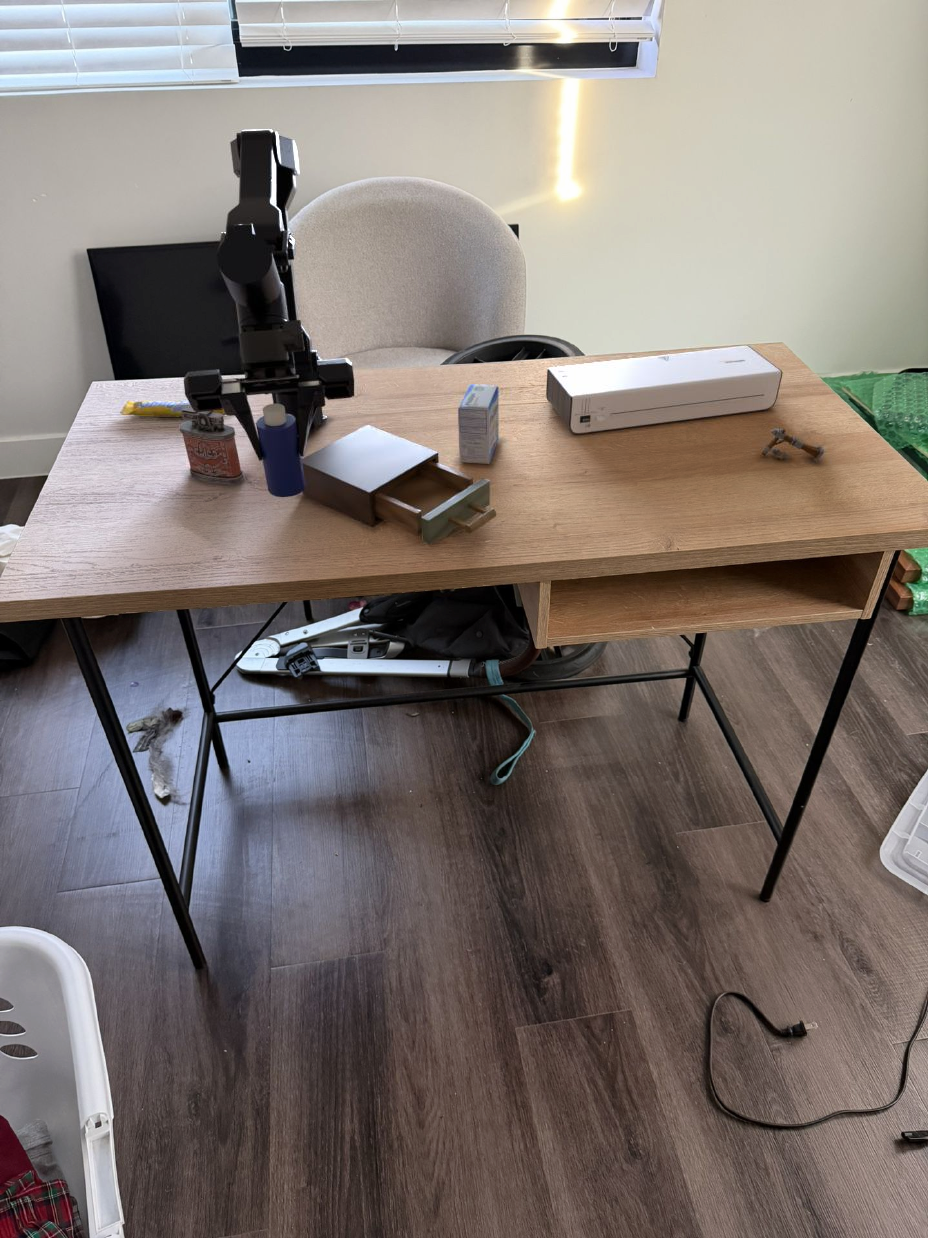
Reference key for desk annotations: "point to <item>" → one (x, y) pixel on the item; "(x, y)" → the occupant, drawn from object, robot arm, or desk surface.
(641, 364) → the laminator
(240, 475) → the lighter
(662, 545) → the desk surface
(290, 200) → the robot arm
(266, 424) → the glue bottle
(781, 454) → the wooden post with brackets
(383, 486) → the cabinet
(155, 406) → the candy bar
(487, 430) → the medicine box
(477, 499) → the drawer
